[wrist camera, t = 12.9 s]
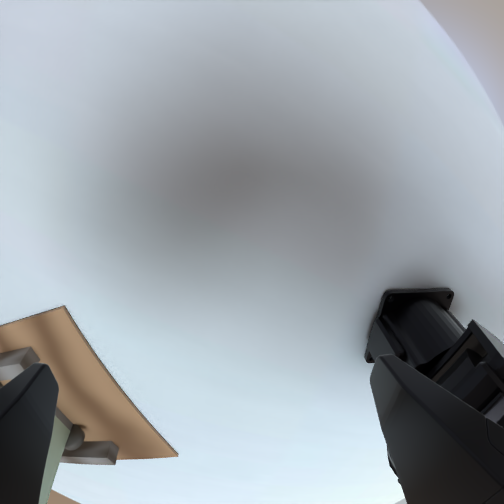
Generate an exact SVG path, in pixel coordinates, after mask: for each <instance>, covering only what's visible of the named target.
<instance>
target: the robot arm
mask: <svg viewBox="0 0 504 504" xmlns="http://www.w3.org/2000/svg"><path fill="white" fill-rule="evenodd" d="M448 294H449V295H448ZM447 295H448V296H447ZM391 296H392V297H391ZM389 297H391V298H390V299H388V298H389ZM453 297H454V292H453V291H452V290H451V289H449V288H444V289H417V290H389V291H387V292H385V293H384V295H383V297H382V301H381V304H380V308H379V311H378V315H377V318H376V319H375V321H374V324H373V327H372V331H371V334H370V337H369V340H368V343H367V350H366V353H365V357H364V358H365V360H366V362H367V363H375V364H374V367H373V370H372V373H371V376H370V385H371V389H372V393H373V397H374V400H375V405H376V409H377V413H378V417H379V421H380V425H381V429H382V432H383V435H384V438H385V440H386V443H387V453H388V460H389V465H390V467H391V468H392V470H393V471H394V473H395V474H396V476H397V477H398V482H399V483H400V484H401V486H402V489H403V492H404V495H405V498H406V502H407V504H504V344H503V343H502V342H501V341H500V340H499V339H498V338H497V337H496V336H494V335H493V334H492V333H490V332H489V331H488V330H487V329H485V328H484V327H483V326H481V325H480V324H479V323H477V322H476V321H475V320H474V319H472V321H471V322H470V323H469V324H468V328H467V329H465V328H464V327H463V326H462V325H461V324H460V322H459V321H458V320H457V319H456V318H455V317H454V316H453V315H452V313H451V312H450V311H449V308H450V305H451V302H452V299H453ZM371 356H372V357H371ZM58 394H59V386H58V383H57V381H56V379H55V377H54V375H53V373H52V371H51V369H50V367H49V365H47V364H46V363H38V362H36V363H33V364H32V365H31V366H29V367H28V368H27V369H25V370H24V371H23V372H21V373H20V374H19V375H17V376H16V377H15V378H13V379H12V380H11V381H9V382H8V383H7V384H5V385H4V386H3V387H2V388H0V504H39V499H40V492H41V486H42V481H43V475H44V470H45V465H46V460H47V456H48V451H49V447H50V442H51V438H52V432H53V426H54V419H55V412H56V406H57V399H58Z"/></svg>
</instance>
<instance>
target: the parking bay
mask: <svg viewBox="0 0 504 504" xmlns="http://www.w3.org/2000/svg"><path fill="white" fill-rule="evenodd" d="M36 362H38V363H46V364H47V365H49V367H50V369H51V371H52V373H53V375H54V377H55V379H56V381H57V383H58V386H59V394H58V399H57V407H58V408H59V410H60V411H61V412H62V413H63V414H64V415H65V416H66V417H67V418H68V419H69V420H70V421H71V422H72V423H73V424H76V425H78V426H79V427H80V428H81V429H82V430H83V431H84V433H85V439H84V442H83V443H82V445H81V446H80V447H79V448H77V449H75V450H67V449H66V448H64V451H63V454H62V457H61V460H60V462H62V463H75V464H94V465H115V464H116V460H124V459H151V458H166V457H178V453H177V452H176V451H175V450H174V449H173V448H172V447H171V446H170V445H169V444H168V443H167V442H166V441H165V440H164V439H163V438H162V436H161V435H160V434H159V433H158V432H157V431H156V430H155V429H154V428H153V427H152V425H151V424H150V423H149V422H148V421H147V420H146V418H145V417H144V416H143V415H142V414H141V413H140V411H139V410H138V409H137V408H136V407H135V405H134V404H133V403H132V402H131V401H130V399H129V398H128V397H127V396H126V394H125V393H124V392H123V391H122V389H121V388H120V387H119V385H118V384H117V383H116V381H115V380H114V379H113V378H112V376H111V375H110V373H109V372H108V371H107V369H106V368H105V367H104V365H103V364H102V363H101V361H100V360H99V358H98V357H97V355H96V354H95V353H94V351H93V350H92V348H91V347H90V345H89V344H88V342H87V341H86V339H85V338H84V336H83V335H82V333H81V332H80V330H79V329H78V327H77V326H76V324H75V322H74V321H73V319H72V318H71V316H70V314H69V313H68V311H67V309H66V308H65V306H62V307H59V308H56V309H52V310H49V311H46V312H43V313H40V314H36V315H33V316H30V317H27V318H24V319H20V320H17V321H14V322H11V323H8V324H4V325H1V326H0V388H2V387H3V386H4V385H5V384H7V383H8V382H9V381H11V380H12V379H13V378H15V377H16V376H17V375H19V374H20V373H21V372H23V371H24V370H25V369H27V368H28V367H29V366H31V365H32V364H33V363H36Z"/></svg>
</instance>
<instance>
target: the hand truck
mask: <svg viewBox="0 0 504 504" xmlns="http://www.w3.org/2000/svg"><path fill="white" fill-rule="evenodd" d="M84 439H85V433H84V431H83V430H82V429H81V428H80V427H79V426H78V425H76V424H73V423H72V422H71V421H70V420H69V419H68V418H67V417H66V416H65V415H64V414H63V413H62V412H61V411H60V410H59V408H58V407H57V406H56V412H55V419H54V426H53V432H52V438H51V442H50V447H49V451H48V456H47V460H46V465H45V470H44V475H43V481H42V486H41V492H40V499H39V504H47V501H48V498H49V494H50V491H51V488H52V484H53V481H54V478H55V475H56V472H57V469H58V466H59V463H60V460H61V457H62V454H63V451H64V448H66V449H67V450H75V449H77V448H79V447H80V446H81V445H82V443H83V442H84Z"/></svg>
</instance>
